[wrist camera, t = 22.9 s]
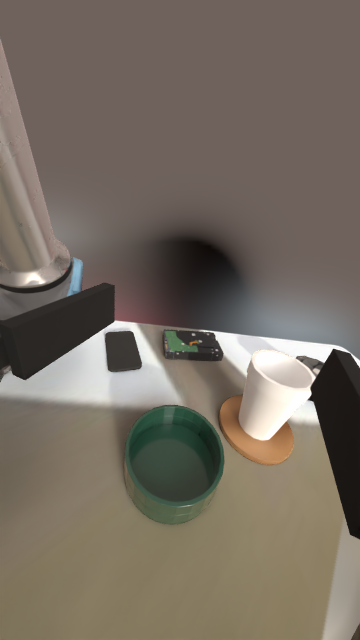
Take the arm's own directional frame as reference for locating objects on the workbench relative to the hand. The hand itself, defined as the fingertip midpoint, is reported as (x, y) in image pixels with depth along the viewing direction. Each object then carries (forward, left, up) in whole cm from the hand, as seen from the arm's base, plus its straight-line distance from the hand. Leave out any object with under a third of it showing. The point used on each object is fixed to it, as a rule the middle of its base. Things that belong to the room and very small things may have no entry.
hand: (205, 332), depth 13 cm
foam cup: (-11, +18, -26) cm, 33 cm away
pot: (-6, +2, -27) cm, 27 cm away
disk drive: (-35, +11, -27) cm, 45 cm away
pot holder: (-11, +18, -27) cm, 34 cm away
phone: (-33, -7, -27) cm, 43 cm away
